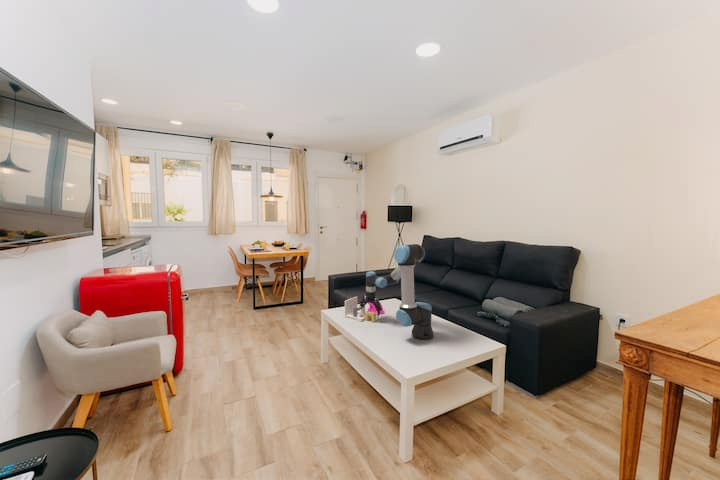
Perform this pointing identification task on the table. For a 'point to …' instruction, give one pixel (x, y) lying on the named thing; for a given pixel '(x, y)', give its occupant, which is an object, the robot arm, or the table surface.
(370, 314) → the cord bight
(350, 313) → the shelf
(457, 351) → the table surface
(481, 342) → the table surface
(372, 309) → the magenta lumpy block
